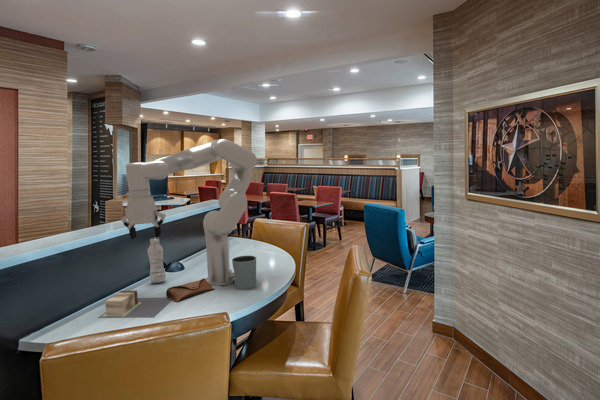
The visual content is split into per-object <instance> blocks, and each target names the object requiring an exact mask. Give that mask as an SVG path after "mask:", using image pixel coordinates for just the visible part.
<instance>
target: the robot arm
mask: <svg viewBox="0 0 600 400" xmlns="http://www.w3.org/2000/svg"><path fill="white" fill-rule="evenodd" d="M220 160H224V161H226V162H228V163H229V164H230V167H231V170H232V174H231V178H230V180H229V182H228V183H227V184H226V187H225V188H224V190H223V191H222V193H221V194H220V195H219V197H218V206H219V207H220V209H219V210H211V211H209V212H207V213H206V214H205V216H204V218H203V221H202V224H203V231H204V236H205V247H206V250H205V251H206V261H207V262H206V264H207V265H206V266H207V278H205V279H206V281H207V282H208V283H209V284H210V285H211V286H212V287H213V286H214V287H215V286H220V287H221V286H225V285H229V284H232V283H233V282H234V281H235V276H234V271H233V269H230V267H231V265H230V253H229V252H230V251H229V250H230V249H229V236H228V235H229V234H231V233H232V232H233V230H234V229H235V228H236V226H237V224H238V223H239V221H240V220H241V218H242V216H243V215H244V213H245V212H246V209H247V206H248V198H247V196H246V195H245V194H246V192H247V190H248V188H249V186H250V184H251V179H252V178H251V170H253V169H255V167H256V166H257V163H258V158H257V156H256V154H255V153H254V152H253V151H252V150H250V149H248V148H246V147H244V146H242V145H239V144H237V143H235V142H233V141H232V140H229V139H226V138H220V139H214V140H211V141H208V142H205V143H202V144H198V145H196V146H193V147H189V148H186V149H183V150H181V151H179V152H177V153H173V154H170V155H167V156H164V157H161V158H158V159H157V158H156V159H154V160H151V161H145V162H144V161H136V162H128V163H127V164H126V165H125V173H126V180H127V187H128V191H127V192H126V193H125V194H126V196H128V199H127V203H126V205H127V206H126V213H127V214H126V215H124V216H122V217H121V218H120V221H121V222H122V223H123V226H124V227H126V228H127V230H129V233H128V234H129V237H130V239H131V240H133V239H135V238H137V237H138V235H137V231H136V230H137V229H136V227H135V226H136V225H145V224H147V225H148V224H152V225H154V228H153V229H154V236H155V237H154V238H160V236H161V235H162V228H161V226H162V224H163V223H164V222H165V219H166V213H165V214H164V213H162V212H159V211H158V210H157V205H156V202H155V200H154V196H152V195H151V187H150V180H164V179H166V178H167V177H168V176H169V175H172V174H175V173H179V172H183V171H189V170H190V171H191V170H194V169H197V168H200V167H203V166H206V165H209V164H212V163H214V162H218V161H220ZM158 217H159V218H160V219H159V220H158Z"/></svg>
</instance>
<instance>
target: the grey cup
mask: <svg viewBox="0 0 600 400" xmlns="http://www.w3.org/2000/svg"><path fill="white" fill-rule="evenodd" d="M231 262H232V268H233V269H232V270H233V273H234V276H235V278H234V281H235V283H234V284H235V288H236V289H237V290H244V291H245V289H246V290H251V288H252V289H254V288H256V286H257V257H256V256H254V255H241V256H235V257H233V258H232V259H231Z"/></svg>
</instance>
